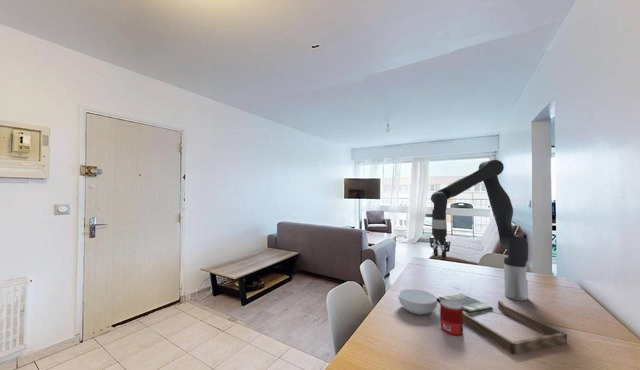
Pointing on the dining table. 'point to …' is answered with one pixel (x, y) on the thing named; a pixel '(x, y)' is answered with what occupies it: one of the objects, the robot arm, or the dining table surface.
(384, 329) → the dining table surface
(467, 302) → the dish towel
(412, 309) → the cereal bowl
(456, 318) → the canned food
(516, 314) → the towel holder
